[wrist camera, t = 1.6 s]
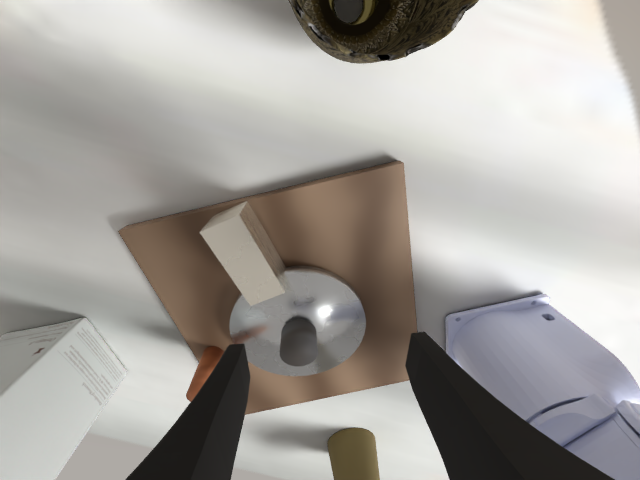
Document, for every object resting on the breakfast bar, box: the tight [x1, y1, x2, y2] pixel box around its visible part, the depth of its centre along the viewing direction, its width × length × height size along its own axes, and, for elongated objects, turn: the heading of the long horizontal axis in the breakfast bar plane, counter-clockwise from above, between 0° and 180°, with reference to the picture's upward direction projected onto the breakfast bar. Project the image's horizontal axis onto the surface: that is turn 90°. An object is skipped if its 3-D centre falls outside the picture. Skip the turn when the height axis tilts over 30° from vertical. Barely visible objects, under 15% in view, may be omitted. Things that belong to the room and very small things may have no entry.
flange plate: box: [200, 201, 366, 376], centre depth 20 cm, size 16×11×3 cm, turn 23°
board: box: [118, 161, 417, 415], centre depth 21 cm, size 20×22×5 cm
